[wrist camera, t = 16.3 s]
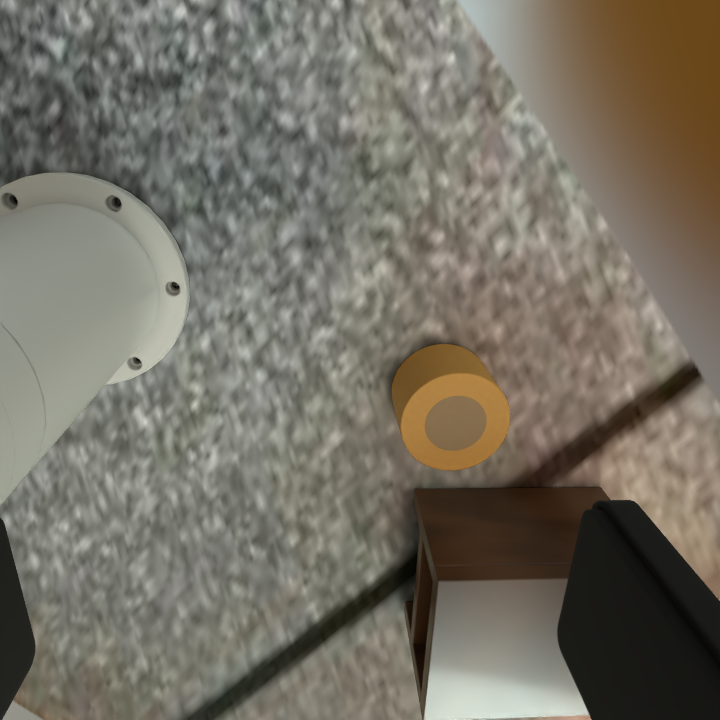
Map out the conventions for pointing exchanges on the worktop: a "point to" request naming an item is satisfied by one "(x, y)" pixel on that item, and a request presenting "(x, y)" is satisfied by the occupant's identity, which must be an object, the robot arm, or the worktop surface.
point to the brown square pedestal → (494, 601)
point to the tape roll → (449, 408)
